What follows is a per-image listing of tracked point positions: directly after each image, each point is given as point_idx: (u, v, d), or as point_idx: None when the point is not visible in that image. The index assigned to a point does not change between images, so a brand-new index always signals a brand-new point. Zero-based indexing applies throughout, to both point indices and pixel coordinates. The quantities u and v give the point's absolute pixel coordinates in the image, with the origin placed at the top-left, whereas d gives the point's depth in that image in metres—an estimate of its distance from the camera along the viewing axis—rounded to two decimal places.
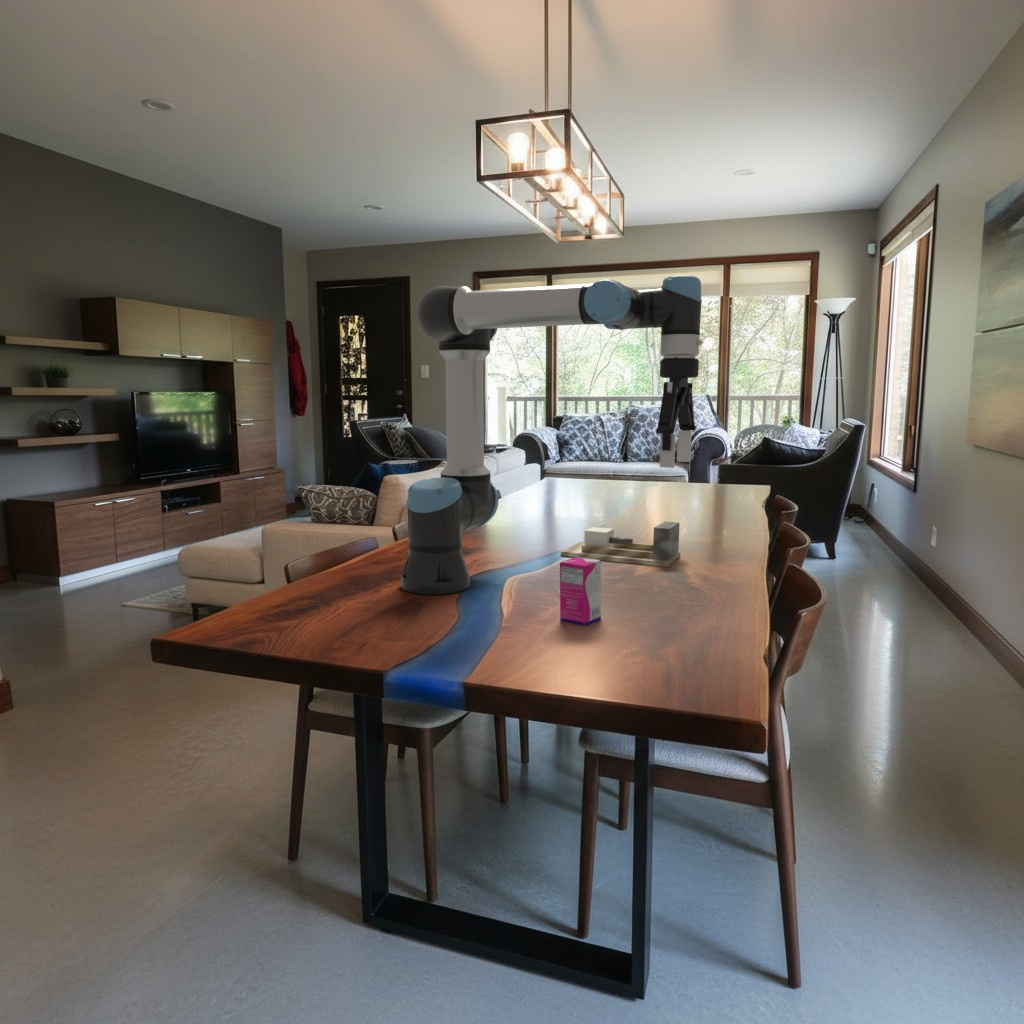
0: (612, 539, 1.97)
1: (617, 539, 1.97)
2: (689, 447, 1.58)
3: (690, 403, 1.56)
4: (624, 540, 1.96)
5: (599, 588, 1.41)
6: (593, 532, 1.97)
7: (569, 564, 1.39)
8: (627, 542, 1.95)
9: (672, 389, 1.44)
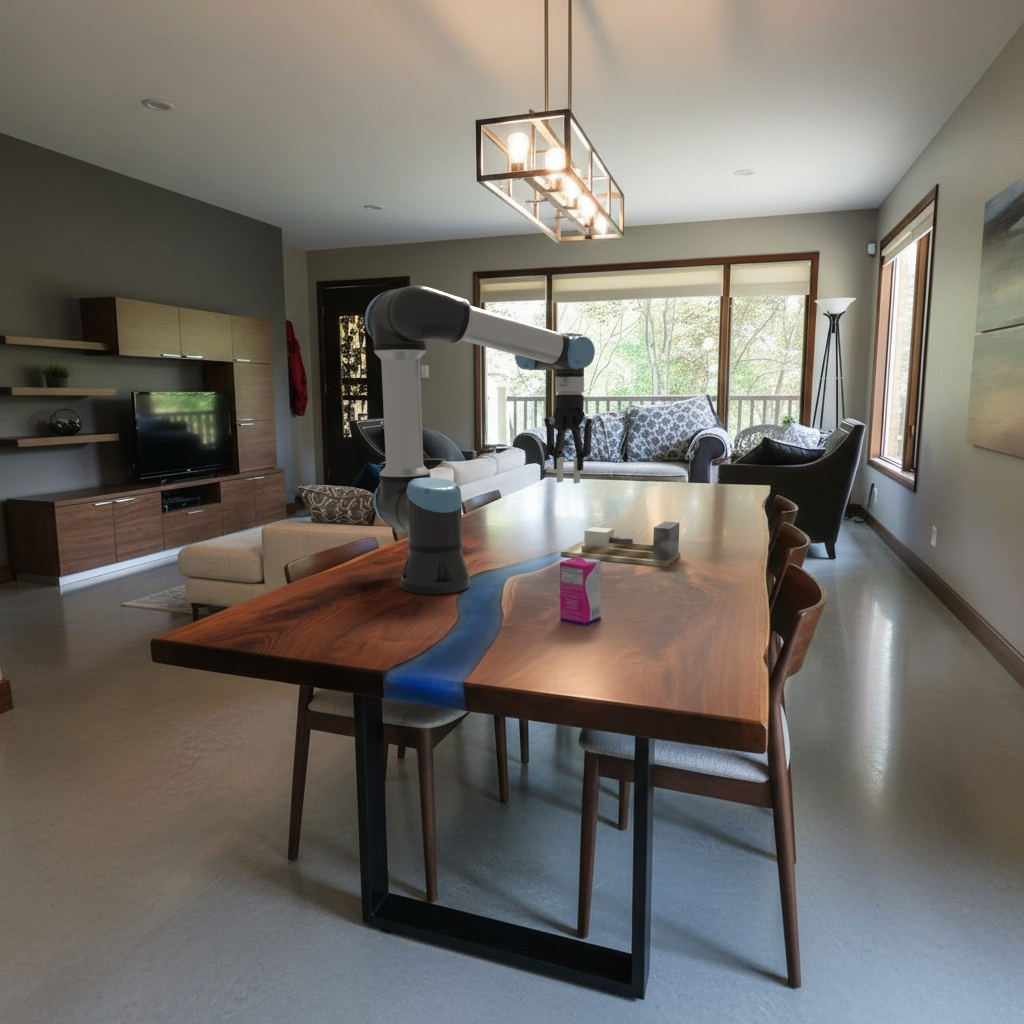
0: (612, 539, 1.97)
1: (617, 539, 1.97)
2: None
3: (584, 434, 1.96)
4: (624, 540, 1.96)
5: (599, 588, 1.41)
6: (593, 532, 1.97)
7: (569, 564, 1.39)
8: (627, 542, 1.95)
9: None
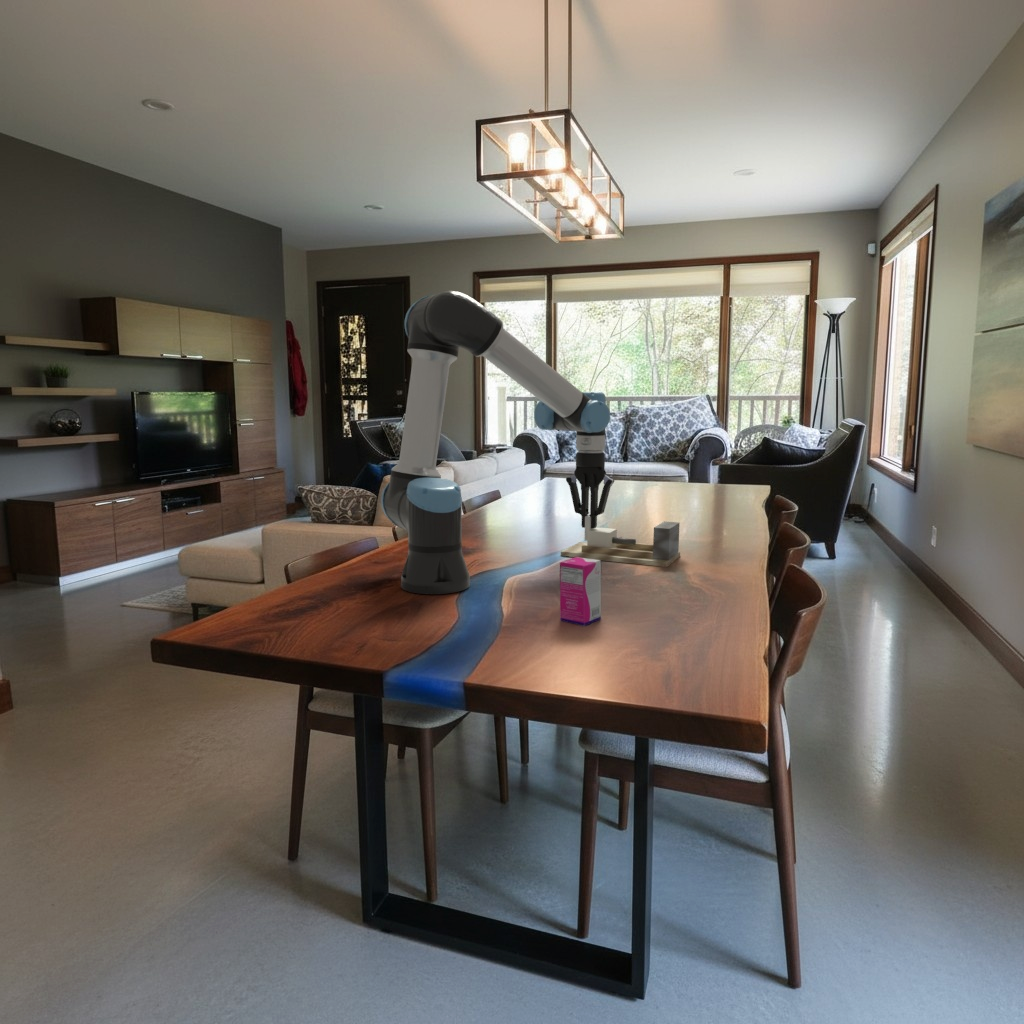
0: (615, 539, 1.97)
1: (620, 539, 1.96)
2: (587, 529, 1.99)
3: (602, 493, 1.97)
4: (627, 540, 1.95)
5: (599, 588, 1.41)
6: (596, 532, 1.96)
7: (569, 564, 1.39)
8: (630, 542, 1.95)
9: None
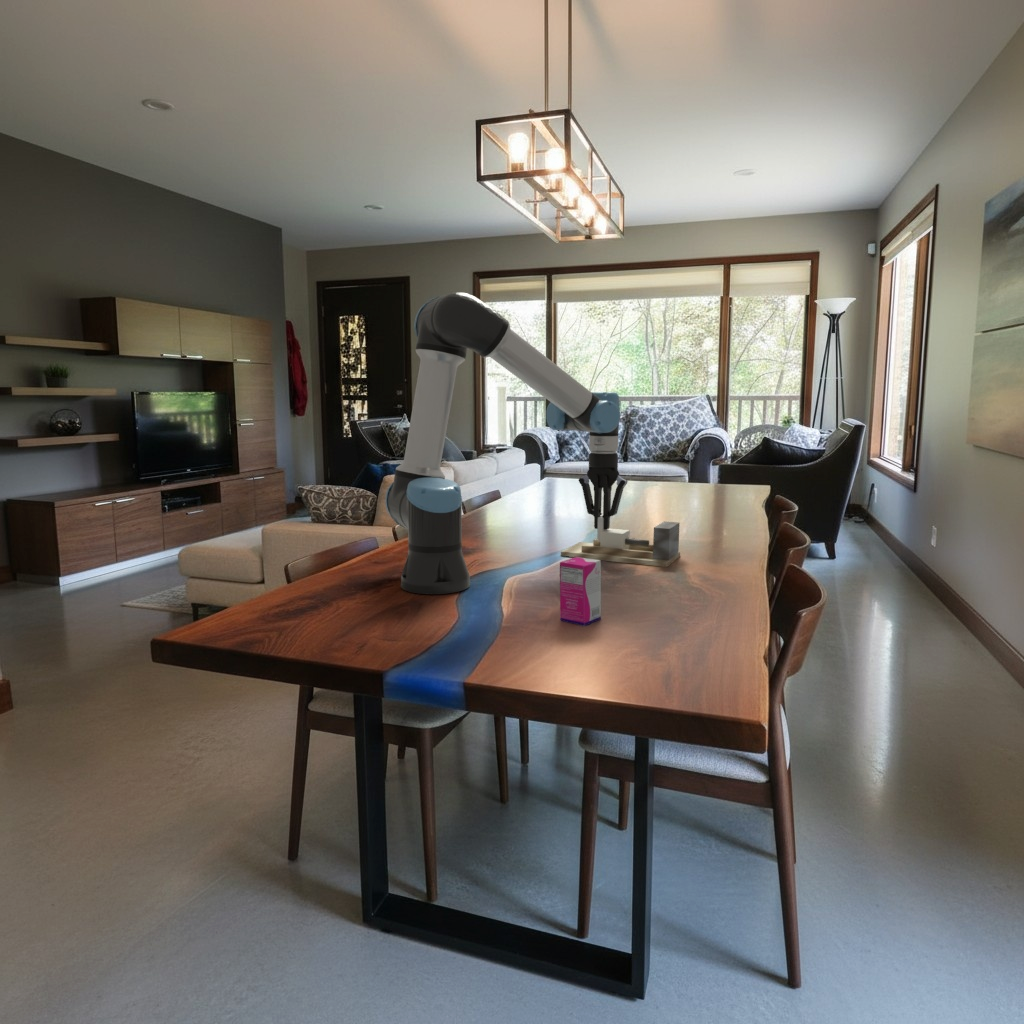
0: (629, 540, 1.95)
1: (633, 540, 1.95)
2: (600, 531, 1.98)
3: (615, 494, 1.95)
4: (640, 541, 1.94)
5: (599, 588, 1.41)
6: (609, 533, 1.95)
7: (569, 564, 1.39)
8: (643, 544, 1.94)
9: None
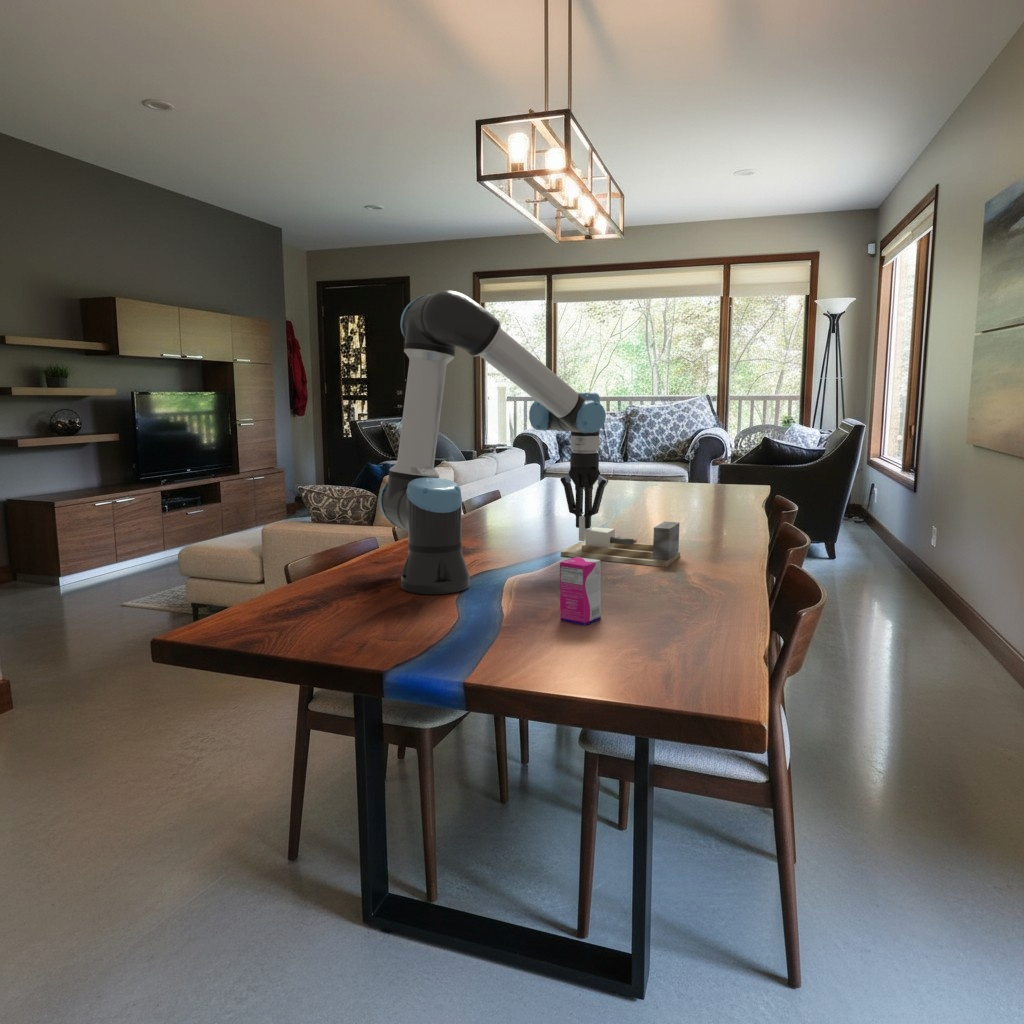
0: (614, 539, 1.97)
1: (618, 539, 1.97)
2: (581, 529, 2.00)
3: (596, 493, 1.97)
4: (625, 540, 1.96)
5: (599, 588, 1.41)
6: (594, 532, 1.97)
7: (569, 564, 1.39)
8: (628, 542, 1.95)
9: None
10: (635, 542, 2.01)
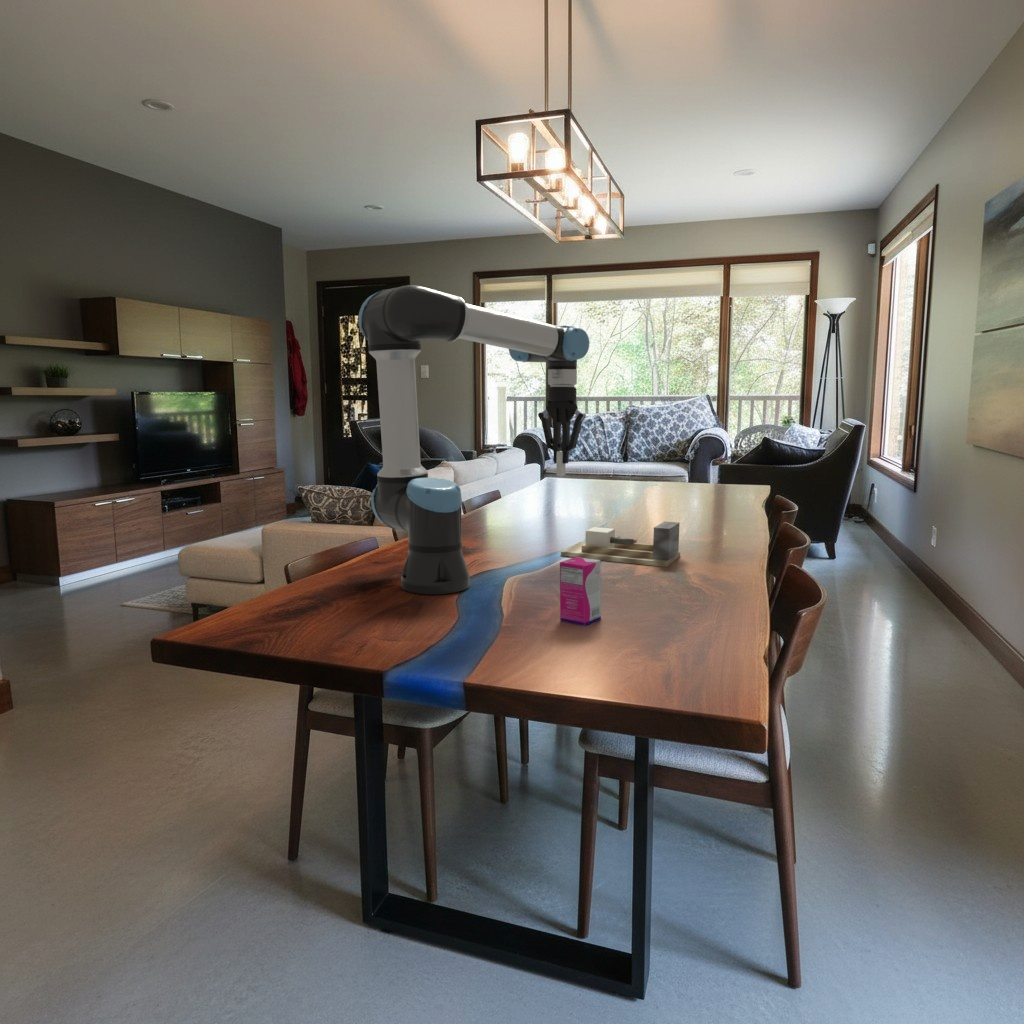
0: (614, 539, 1.97)
1: (618, 539, 1.97)
2: (559, 465, 2.00)
3: (573, 427, 1.97)
4: (625, 540, 1.96)
5: (599, 588, 1.41)
6: (594, 532, 1.97)
7: (569, 564, 1.39)
8: (628, 542, 1.95)
9: None
10: (635, 542, 2.01)
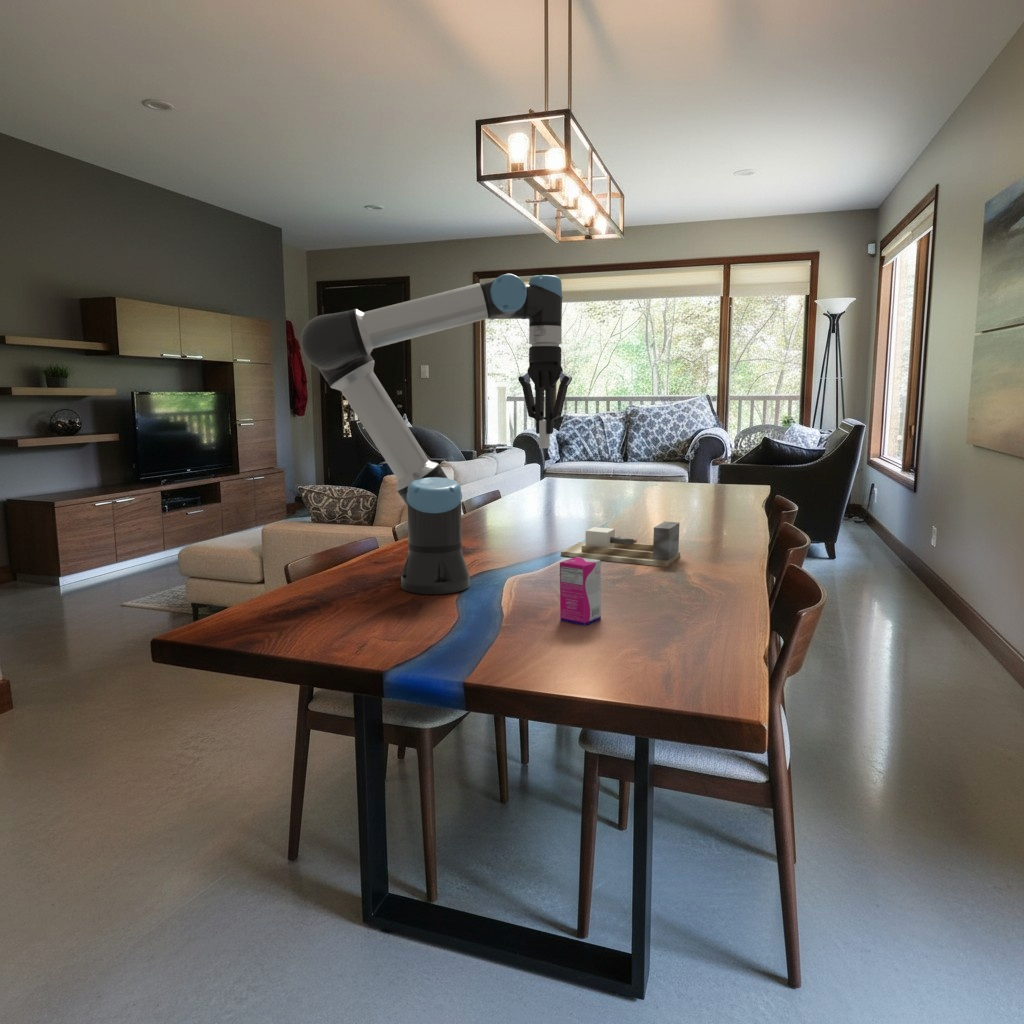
0: (614, 539, 1.97)
1: (618, 539, 1.97)
2: (542, 435, 1.76)
3: (558, 392, 1.73)
4: (625, 540, 1.96)
5: (599, 588, 1.41)
6: (594, 532, 1.97)
7: (569, 564, 1.39)
8: (628, 542, 1.95)
9: None
10: (635, 542, 2.01)
